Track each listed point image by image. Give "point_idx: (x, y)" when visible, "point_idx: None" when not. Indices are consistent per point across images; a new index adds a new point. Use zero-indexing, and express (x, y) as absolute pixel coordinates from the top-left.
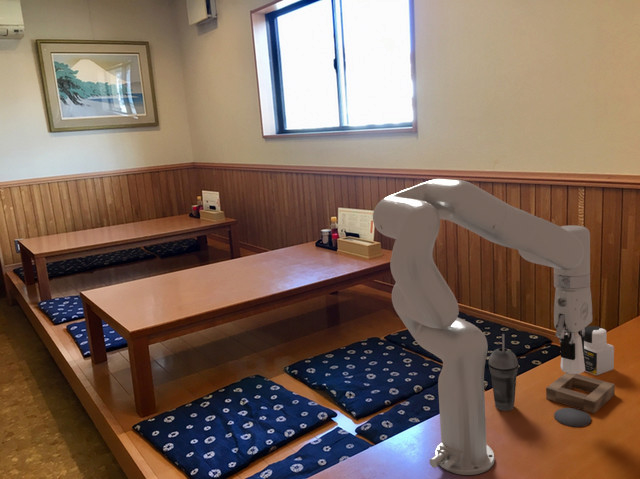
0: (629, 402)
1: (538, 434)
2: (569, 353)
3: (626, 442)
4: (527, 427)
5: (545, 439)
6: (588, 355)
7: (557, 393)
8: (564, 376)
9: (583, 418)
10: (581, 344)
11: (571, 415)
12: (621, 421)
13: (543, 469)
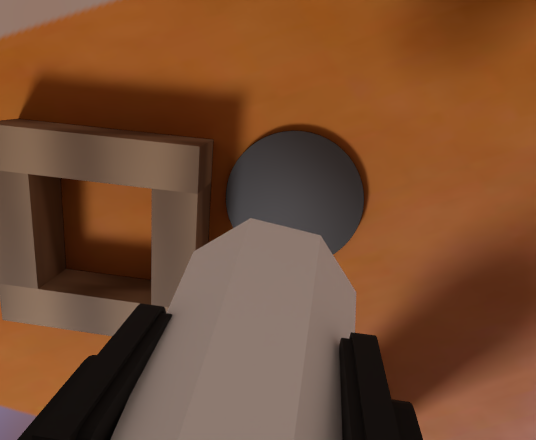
0: (38, 47)
1: (483, 264)
2: (414, 424)
3: None
4: (451, 311)
5: (509, 232)
6: None
7: None
8: (52, 317)
9: (287, 160)
10: (210, 388)
11: (288, 206)
12: (212, 25)
13: None
